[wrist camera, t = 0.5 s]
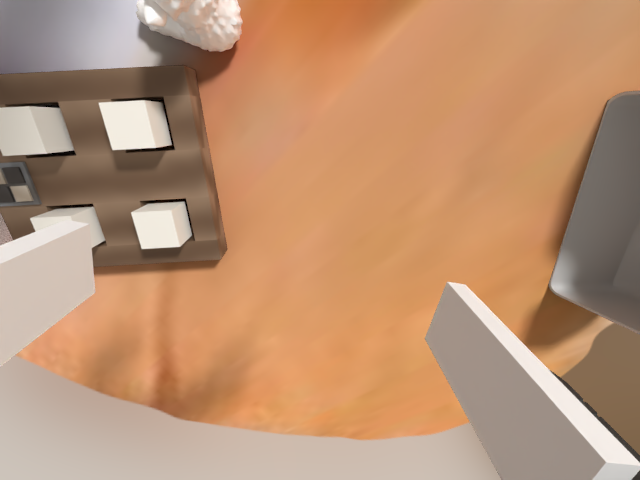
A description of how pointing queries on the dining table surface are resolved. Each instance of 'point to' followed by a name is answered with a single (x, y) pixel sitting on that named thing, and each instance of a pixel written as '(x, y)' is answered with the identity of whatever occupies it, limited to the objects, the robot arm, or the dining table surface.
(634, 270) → the grey rectangular block
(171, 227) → the button
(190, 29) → the seated beast figurine
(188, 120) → the board
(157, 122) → the button
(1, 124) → the button
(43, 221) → the button
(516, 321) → the dining table surface
